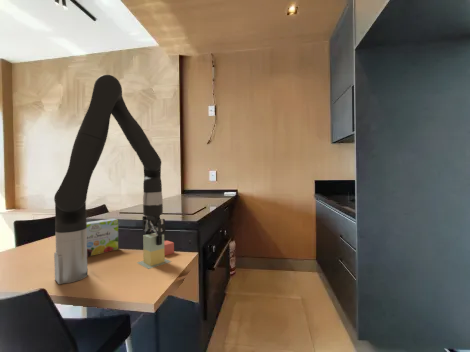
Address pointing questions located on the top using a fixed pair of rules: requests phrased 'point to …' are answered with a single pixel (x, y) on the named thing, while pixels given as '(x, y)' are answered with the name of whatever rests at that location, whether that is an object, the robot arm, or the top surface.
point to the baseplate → (153, 265)
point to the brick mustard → (153, 257)
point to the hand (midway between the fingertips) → (153, 242)
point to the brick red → (168, 247)
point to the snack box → (102, 236)
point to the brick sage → (152, 242)
